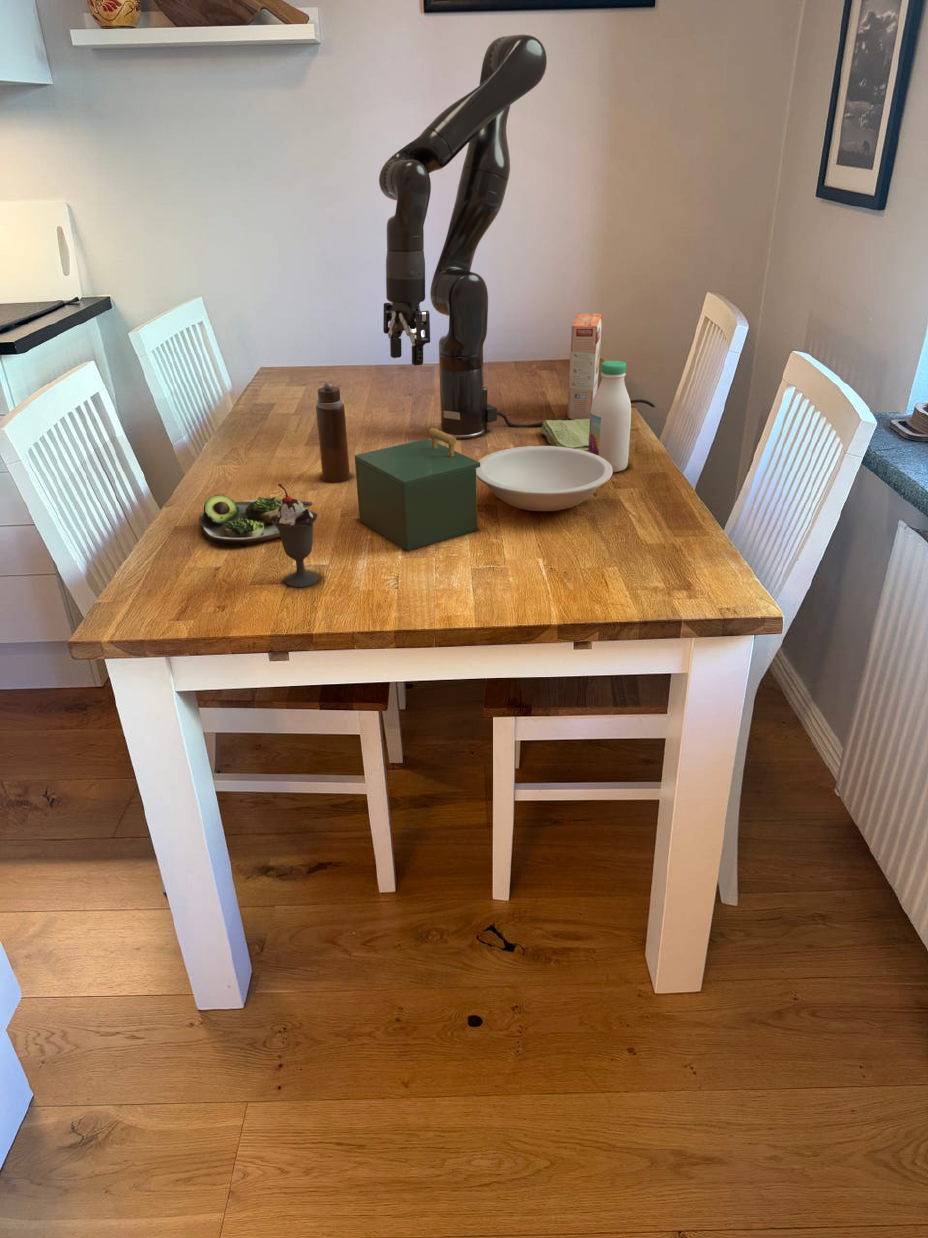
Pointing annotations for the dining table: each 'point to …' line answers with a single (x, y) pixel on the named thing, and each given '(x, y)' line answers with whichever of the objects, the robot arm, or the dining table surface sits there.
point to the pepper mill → (332, 434)
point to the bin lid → (418, 460)
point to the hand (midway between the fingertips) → (406, 360)
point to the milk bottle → (611, 417)
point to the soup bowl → (543, 476)
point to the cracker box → (584, 364)
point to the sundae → (296, 537)
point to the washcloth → (567, 433)
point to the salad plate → (240, 520)
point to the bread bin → (417, 507)
